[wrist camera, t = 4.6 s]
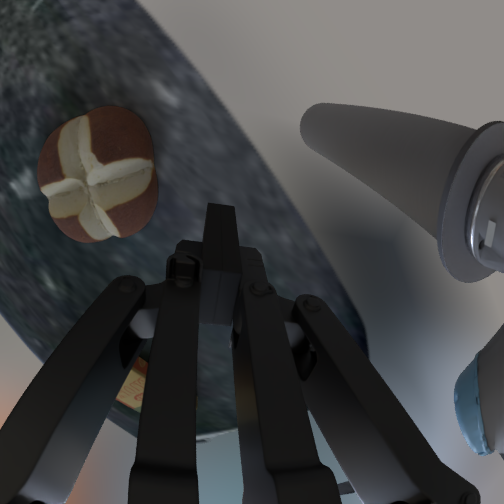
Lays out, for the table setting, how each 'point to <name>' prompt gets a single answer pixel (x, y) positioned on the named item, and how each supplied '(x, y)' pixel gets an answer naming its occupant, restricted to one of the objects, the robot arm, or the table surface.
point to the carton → (135, 386)
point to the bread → (99, 175)
